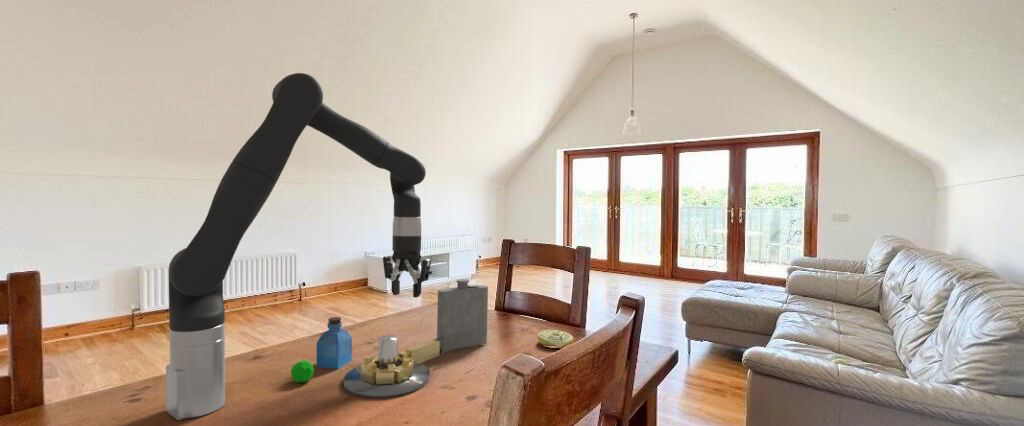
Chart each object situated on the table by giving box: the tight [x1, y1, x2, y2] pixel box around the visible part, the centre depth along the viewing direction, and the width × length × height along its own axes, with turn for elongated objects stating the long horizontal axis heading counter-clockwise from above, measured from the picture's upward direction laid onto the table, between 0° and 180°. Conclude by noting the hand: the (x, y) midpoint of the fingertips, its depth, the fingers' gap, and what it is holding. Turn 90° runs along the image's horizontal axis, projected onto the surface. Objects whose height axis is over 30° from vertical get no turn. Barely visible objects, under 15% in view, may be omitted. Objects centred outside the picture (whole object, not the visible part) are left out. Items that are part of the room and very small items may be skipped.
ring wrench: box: [360, 337, 443, 384], centre depth 112 cm, size 24×12×4 cm, turn 145°
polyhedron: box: [290, 359, 315, 384], centre depth 106 cm, size 5×5×5 cm
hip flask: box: [436, 278, 489, 353], centre depth 132 cm, size 16×4×20 cm, turn 121°
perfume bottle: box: [316, 316, 353, 370], centre depth 117 cm, size 6×6×12 cm
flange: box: [343, 334, 431, 399], centre depth 107 cm, size 20×20×10 cm
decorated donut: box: [537, 329, 574, 350], centre depth 136 cm, size 10×11×4 cm
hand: (406, 295), depth 120 cm, fingers open, 5 cm apart
